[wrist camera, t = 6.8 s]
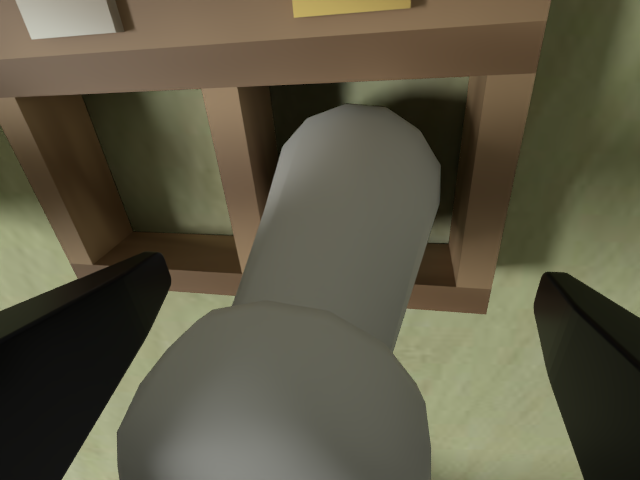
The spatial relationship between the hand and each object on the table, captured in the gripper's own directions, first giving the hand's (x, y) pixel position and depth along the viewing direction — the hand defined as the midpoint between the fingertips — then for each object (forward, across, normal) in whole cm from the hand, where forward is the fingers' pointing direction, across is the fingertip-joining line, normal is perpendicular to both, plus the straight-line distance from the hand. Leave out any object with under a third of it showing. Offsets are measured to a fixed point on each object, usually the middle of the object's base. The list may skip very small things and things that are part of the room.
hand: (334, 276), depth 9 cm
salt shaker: (+8, 0, 0) cm, 8 cm away
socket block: (+7, +4, -2) cm, 9 cm away
